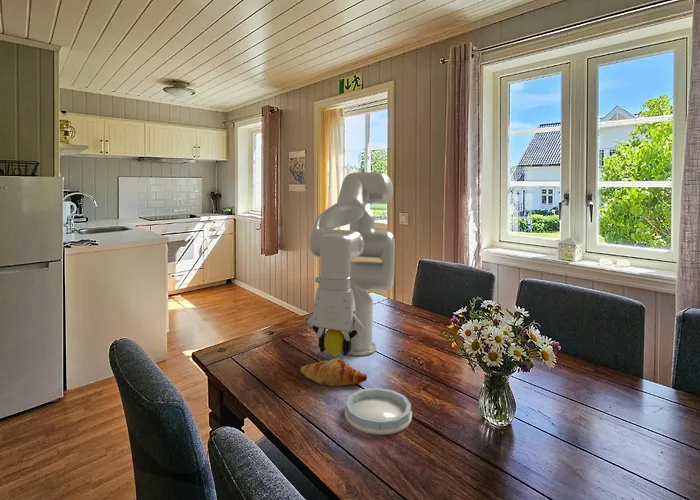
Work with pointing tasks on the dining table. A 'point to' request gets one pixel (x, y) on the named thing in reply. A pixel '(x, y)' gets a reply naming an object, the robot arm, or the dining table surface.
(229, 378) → the dining table surface
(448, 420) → the dining table surface
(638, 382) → the dining table surface
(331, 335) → the lemon
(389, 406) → the dish
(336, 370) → the croissant
